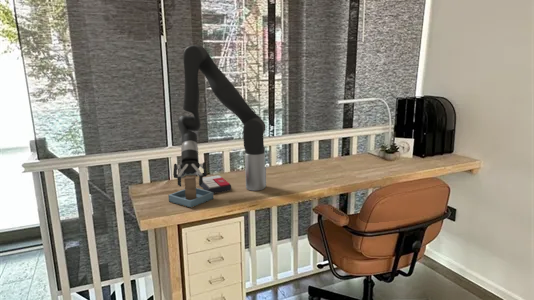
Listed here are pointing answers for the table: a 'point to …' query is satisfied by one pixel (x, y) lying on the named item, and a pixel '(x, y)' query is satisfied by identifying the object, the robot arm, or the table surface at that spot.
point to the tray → (181, 199)
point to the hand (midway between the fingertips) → (190, 185)
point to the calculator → (215, 184)
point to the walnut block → (190, 187)
